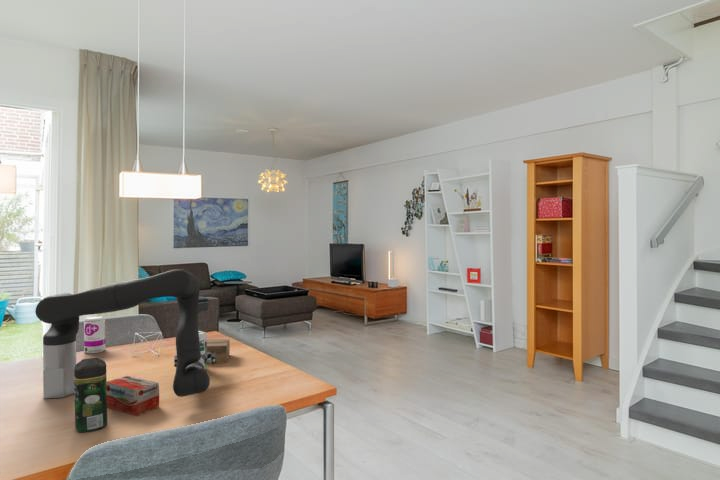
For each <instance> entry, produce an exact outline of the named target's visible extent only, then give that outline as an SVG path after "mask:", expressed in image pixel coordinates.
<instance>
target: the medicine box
mask: <svg viewBox="0 0 720 480" xmlns="http://www.w3.org/2000/svg"><path fill="white" fill-rule="evenodd" d="M159 407H160V386H159V382H157V381H152V380H149V379H144V378H141V377H135V376H132V375H127V374H126V375H124V376H121V377H118V378H115V379H112V380H108V381H107V409H112V410H114V411H115V410H116V411H118V412H122V413H125V414H128V415H132V416H135V417H138V416H140V415H142V414H145V412H148V411H151V410H153V409H156V408H159Z"/></svg>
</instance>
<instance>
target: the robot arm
mask: <svg viewBox="0 0 720 480" xmlns="http://www.w3.org/2000/svg"><path fill="white" fill-rule="evenodd" d="M165 297H166V298H167V297H168V298H169V297H172V298H175V299H176V301H177V305H178V311H179V315H178V316H179V318H178V323H177V326H176V332H175V350H176V351H175V352H176V355H174V359H173V367H174V368H175V374H174V378H173V383H172V389H173V390H172V391H173V392H174V394H175V395H176V396H177V397H186V396H187V397H188V396H190V395H191V396H192V395H197V394H202V393H204V392H206V391H207V390H208V389H209V387H210V384H211V383H210V381H211V379H210V375H209V373H208V372H207V369H206V363H207V362H210V363H209V364H212V365H214V364H216V363H215V361H216V353H212V354H211V352H209V351H207V353H203V354H201V352H200V342H199V331H200V330H199V298H200V281H199V279H198V277H197V276H196V275H194V274H193V273H191V272H190V271H187V270H185V269H181V268H175V269H170V270H168V271H165V272H161V273H158V274H155V275H152V276H151V275H150V276H147V277H143V278H135V279H129V280H124V281H118V282H114V283H113V282H112V283H108V284H105V285H101V286H97V287H93V288H90V289H87V290H85V291H81V292H78V293H77V292H76V293H74V294H72V293H69V292H62V293H57V294H53V295H48V296H46V297H43V298H42V299H41V300H40V301H39V302H38V303H37V305H36V307H35V310H34V311H35V315H36V318H37V319H39V320H40V321H41V322H43V323H45V324H50V327H49V329H48V330H47V332H45V334H44V335H43V337H42V357H43V358H42V361H43V362H42V365H43V367H42V368H43V370H42V375H43V376H42V381H43V383H42V385H43V387H42V389H43V390H42V391H43V392H42V393H43V399H56V398H57V399H58V398H65V397H68V396H70V395H74V368H75V365H76V364H77V334H78V333H79V329H80V317H82V316H90V315H97V314H107V313H113V312H118V311H119V312H120V311H124V310H128V309H132V308H135V307H137V306H139V305H140V304H142V303H145V302H146V301H148V300H151V299H152V300H153V299H158V298H159V299H160V298H165ZM207 364H208V363H207Z"/></svg>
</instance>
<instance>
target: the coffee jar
mask: <svg viewBox="0 0 720 480" xmlns="http://www.w3.org/2000/svg"><path fill="white" fill-rule="evenodd" d="M107 379H108V378H107V363H106V361H105V360H104V359H101V358H99V357H90V358H83V359H81V360H80V361H79V362H76V365H75V368H74V393H73V397H74V398H73V399H74V401H73V402H74V427H75V430H76V431H77V432H79V433H81V432H85V433H86V432H88V433H89V432H95V431H97V430H99V429H102V428H105V426H107V424H108V407H107V382H108V381H107Z"/></svg>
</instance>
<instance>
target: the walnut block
mask: <svg viewBox="0 0 720 480" xmlns="http://www.w3.org/2000/svg"><path fill="white" fill-rule="evenodd" d="M230 344H231V343H230V338H225V339H224V338H223V339H222V338H221V339H218V338H217V339H207V351H209V352H211V354H212V353H216V361H215V362H224V363H228V360H229V358H230V355H229V354H231V353H230V350H231V349H230V347H231V345H230ZM228 357H229V358H228ZM227 359H228V360H227ZM207 364H211V363H210V362H207Z"/></svg>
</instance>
